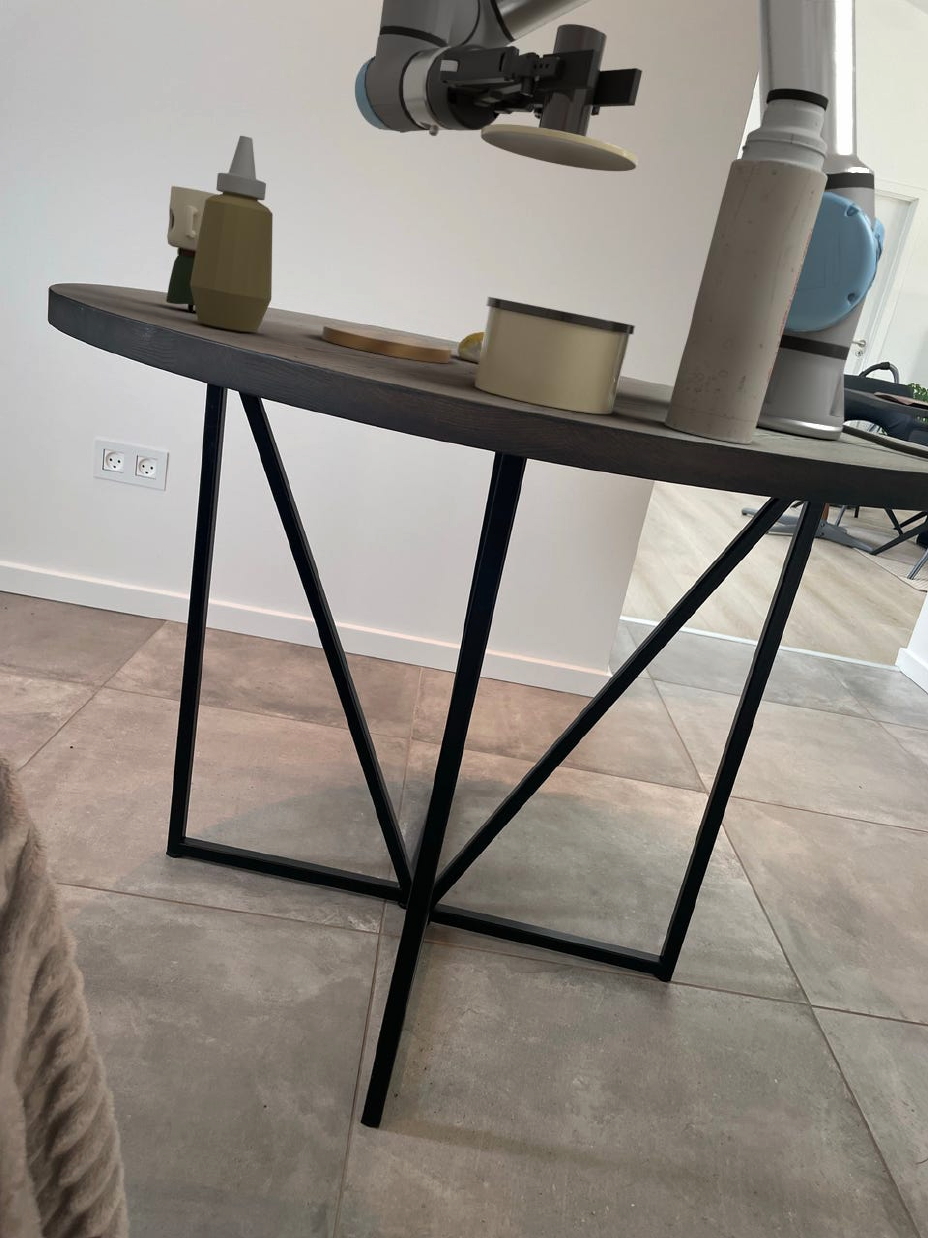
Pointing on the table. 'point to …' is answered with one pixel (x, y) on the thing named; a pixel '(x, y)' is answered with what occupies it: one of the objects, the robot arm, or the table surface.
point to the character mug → (184, 240)
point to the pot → (552, 357)
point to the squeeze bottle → (234, 249)
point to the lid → (565, 119)
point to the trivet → (386, 344)
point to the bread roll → (471, 347)
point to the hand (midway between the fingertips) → (614, 77)
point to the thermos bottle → (752, 270)
